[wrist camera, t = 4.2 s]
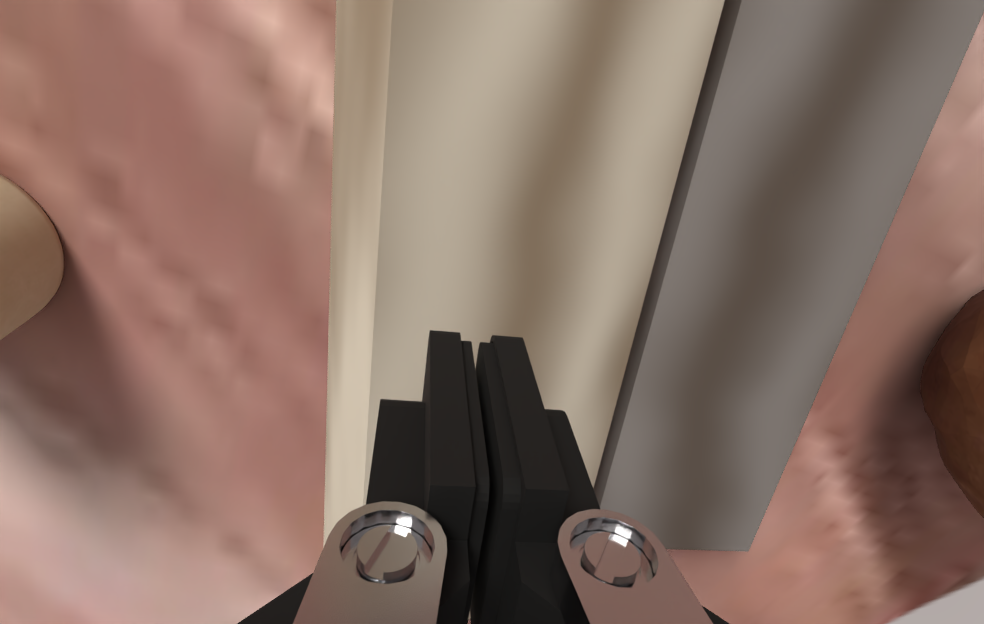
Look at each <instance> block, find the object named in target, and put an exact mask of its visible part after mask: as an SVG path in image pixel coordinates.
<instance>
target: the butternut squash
mask: <svg viewBox="0 0 984 624" xmlns="http://www.w3.org/2000/svg"><path fill="white" fill-rule="evenodd" d="M921 396H922V399H923V404H924V410H925V412H926V413H927V415H928V416H929V418H930V420H931V422H932V424H933V426H934V428H935V433H936V439H937V444H938V449H939V453H940V455H941V458H942V460H943V463H944V465H945V467H946V468H947V470H948V471H949V473H950V474H951V476H952V477H953V479H954V480H955V481H956V483H957V484H958V486H959V487H960V489H961V490H962V491H963V493H964V494H965V496H966V497H967V498H968V500H969V501H970V502H971V504H972V505H973V506H974V508H975V509H976V510H977V511H978V512H979V514H980V515H981V516H982V517H983V518H984V290H983V291H981V292H979V293H978V294H976V295H975V296H973V297H972V298H971V299H970V300H969V301H968V302H967V303H966V304H965V307H963V308H962V309H961V310H960V312H959V313H958V314H957V315H956V316H955V318H954V319H953V320H952V321H951V323H950V324H949V325H948V326H947V327H946V329H945V331H944V332H943V334H942V335H941V337H940V339H939V340H938V342H937V344H936V345H935V347H934V348H933V350H932V352H931V353H930V355H929V357H928V358H927V360H926V363H925V365H924V367H923V372H922V377H921Z"/></svg>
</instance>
